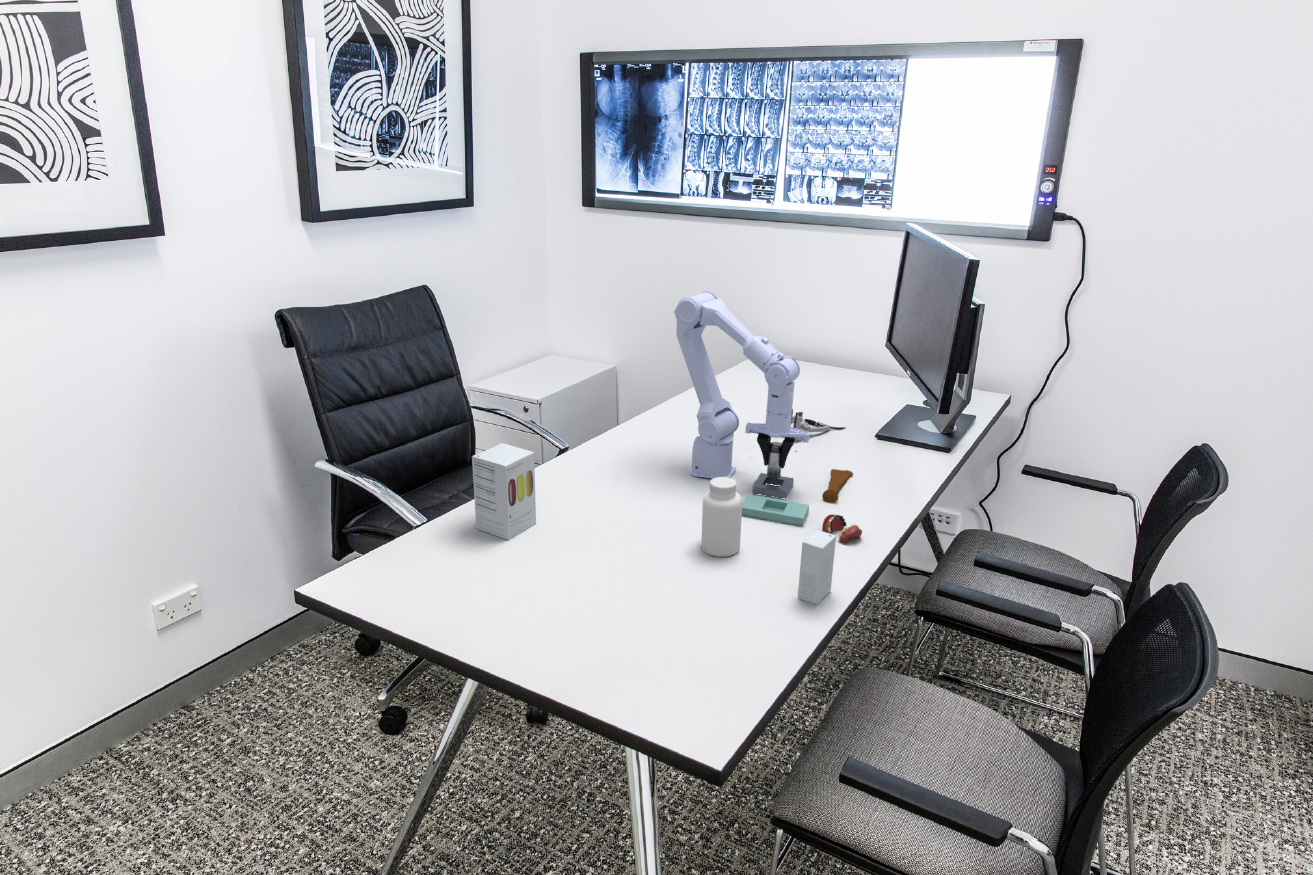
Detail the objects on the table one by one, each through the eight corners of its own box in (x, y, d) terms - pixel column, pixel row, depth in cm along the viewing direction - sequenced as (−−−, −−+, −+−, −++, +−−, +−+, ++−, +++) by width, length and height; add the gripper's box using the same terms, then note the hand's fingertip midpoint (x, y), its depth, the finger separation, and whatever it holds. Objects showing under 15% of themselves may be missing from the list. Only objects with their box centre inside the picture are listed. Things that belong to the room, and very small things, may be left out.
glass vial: (765, 477, 197) (767, 445, 194) (768, 472, 200) (770, 440, 197) (778, 479, 196) (781, 448, 193) (781, 474, 199) (784, 443, 196)
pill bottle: (698, 539, 177) (701, 473, 171) (736, 538, 178) (740, 473, 172) (703, 558, 170) (706, 491, 164) (742, 557, 170) (747, 490, 165)
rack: (739, 515, 187) (740, 507, 186) (747, 502, 193) (747, 494, 192) (802, 526, 183) (803, 518, 182) (808, 512, 189) (809, 504, 188)
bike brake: (798, 443, 224) (844, 436, 238) (802, 418, 223) (848, 413, 236) (760, 428, 234) (806, 423, 247) (764, 404, 232) (810, 400, 245)
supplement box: (508, 541, 175) (504, 466, 168) (474, 529, 179) (469, 456, 173) (537, 523, 182) (535, 451, 176) (505, 511, 187) (501, 441, 180)
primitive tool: (831, 470, 211) (832, 457, 210) (853, 474, 210) (855, 461, 209) (820, 503, 194) (822, 489, 193) (844, 507, 193) (846, 493, 192)
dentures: (848, 529, 174) (820, 514, 180) (846, 547, 175) (818, 532, 181) (867, 523, 177) (838, 508, 183) (864, 541, 178) (836, 526, 184)
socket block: (752, 493, 197) (752, 486, 196) (760, 480, 204) (760, 472, 203) (786, 499, 195) (786, 492, 194) (793, 485, 202) (793, 478, 201)
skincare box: (810, 583, 162) (816, 528, 157) (831, 591, 160) (837, 535, 155) (796, 598, 157) (801, 541, 153) (817, 605, 155) (823, 548, 150)
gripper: (743, 411, 191) (739, 466, 196) (807, 421, 186) (802, 477, 191) (751, 401, 197) (747, 455, 202) (813, 410, 192) (807, 465, 198)
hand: (774, 465), depth 197 cm, fingers closed on glass vial, 3 cm apart
